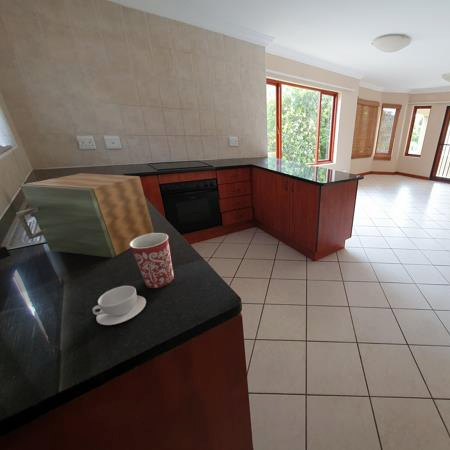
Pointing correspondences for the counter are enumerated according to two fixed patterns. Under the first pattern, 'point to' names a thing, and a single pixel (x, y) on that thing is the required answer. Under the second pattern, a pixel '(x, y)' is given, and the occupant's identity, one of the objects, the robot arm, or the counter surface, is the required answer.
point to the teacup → (118, 305)
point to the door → (67, 220)
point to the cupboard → (113, 204)
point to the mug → (153, 259)
